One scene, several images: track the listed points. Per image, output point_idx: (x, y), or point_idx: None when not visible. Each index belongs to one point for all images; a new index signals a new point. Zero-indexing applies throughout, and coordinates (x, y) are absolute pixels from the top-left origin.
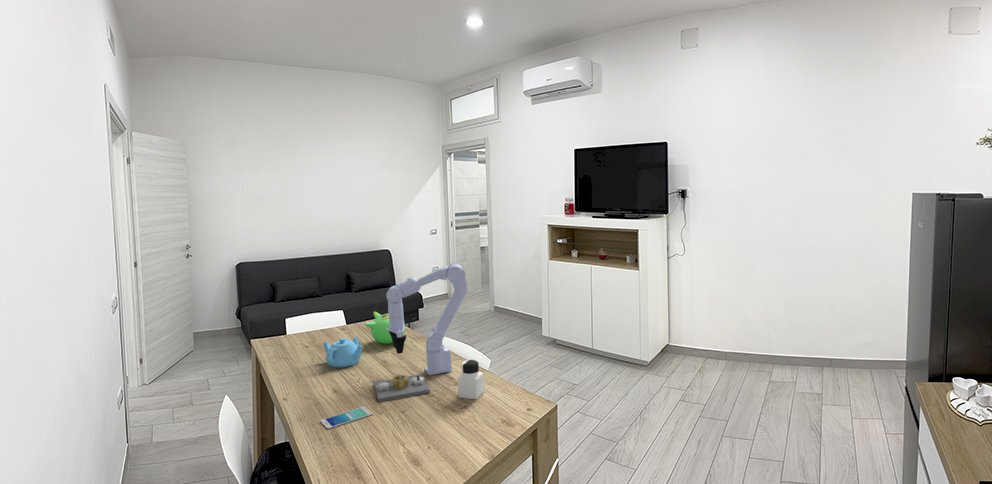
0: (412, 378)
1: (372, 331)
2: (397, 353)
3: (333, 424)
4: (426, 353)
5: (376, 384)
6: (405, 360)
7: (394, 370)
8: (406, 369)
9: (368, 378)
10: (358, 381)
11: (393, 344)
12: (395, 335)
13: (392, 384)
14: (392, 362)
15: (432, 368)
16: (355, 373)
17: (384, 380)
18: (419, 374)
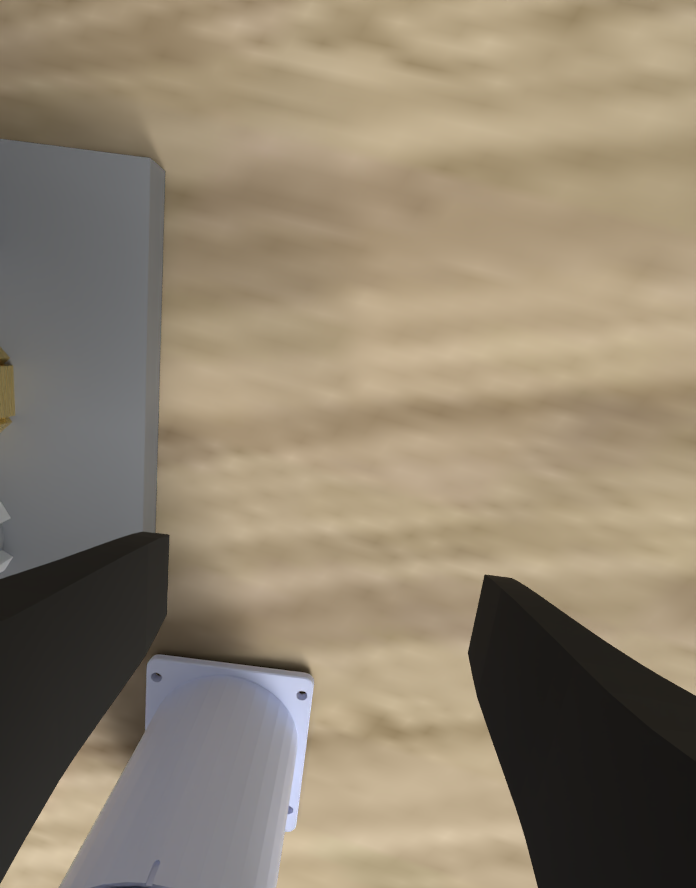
0: (70, 519)
1: None
2: (137, 533)
3: None
4: (173, 838)
5: (66, 170)
6: (624, 605)
7: (435, 450)
8: (394, 547)
9: (374, 162)
10: (349, 35)
11: (510, 600)
12: (616, 862)
13: (1, 320)
14: (659, 492)
15: (154, 722)
16: (612, 53)
17: (140, 276)
18: None
